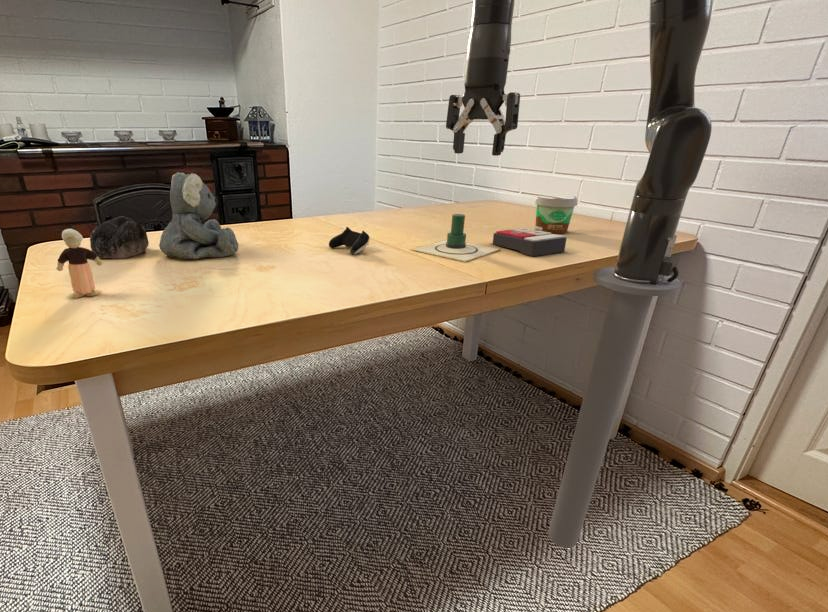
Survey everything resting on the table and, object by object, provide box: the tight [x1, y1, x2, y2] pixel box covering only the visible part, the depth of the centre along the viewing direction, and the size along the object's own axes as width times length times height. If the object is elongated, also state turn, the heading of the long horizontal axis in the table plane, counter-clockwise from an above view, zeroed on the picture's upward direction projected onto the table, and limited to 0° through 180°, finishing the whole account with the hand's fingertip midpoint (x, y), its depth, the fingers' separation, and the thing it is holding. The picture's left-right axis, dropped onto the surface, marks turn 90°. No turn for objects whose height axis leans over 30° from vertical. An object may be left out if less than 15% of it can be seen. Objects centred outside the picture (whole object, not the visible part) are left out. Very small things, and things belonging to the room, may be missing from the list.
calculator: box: [492, 227, 567, 257], centre depth 122 cm, size 11×4×15 cm
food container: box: [534, 195, 578, 235], centre depth 137 cm, size 12×6×10 cm, turn 95°
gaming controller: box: [328, 226, 371, 255], centre depth 121 cm, size 11×4×7 cm
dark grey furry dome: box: [89, 215, 150, 259], centre depth 118 cm, size 13×14×10 cm
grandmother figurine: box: [56, 228, 104, 299], centre depth 88 cm, size 8×4×13 cm, turn 126°
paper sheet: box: [412, 239, 501, 263], centre depth 121 cm, size 16×16×1 cm
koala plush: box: [158, 171, 239, 260], centre depth 115 cm, size 17×18×20 cm
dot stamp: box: [446, 213, 467, 249], centre depth 121 cm, size 5×5×8 cm
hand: (477, 154), depth 92 cm, fingers open, 8 cm apart
